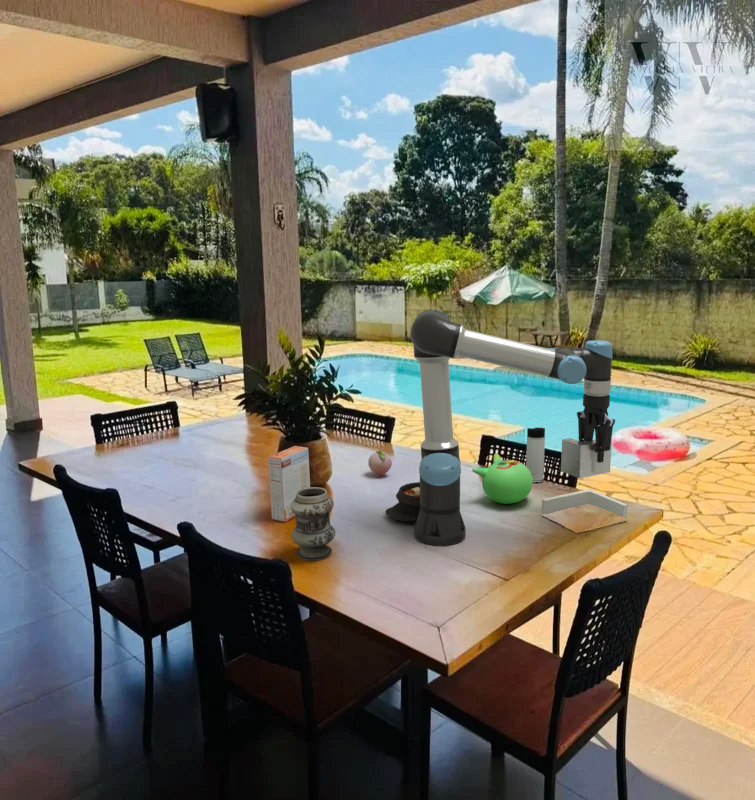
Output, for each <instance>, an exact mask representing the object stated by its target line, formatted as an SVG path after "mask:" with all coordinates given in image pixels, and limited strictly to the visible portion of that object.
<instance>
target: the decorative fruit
mask: <svg viewBox="0 0 755 800" xmlns="http://www.w3.org/2000/svg"><path fill="white" fill-rule="evenodd" d="M367 464H368V467H369V469H370V471H372V472H373V473H374V474H376V475H379V476H380V475H381V476H383V475H385V474H387V473H388V472H389V471H390V469H391V468H392V464H393V462H392V459H391V457H390V456H389V455H388V454H386V453H384V452H383V451H382V450H381V449H380V450H376V451H375V453H373V454H371V455H370V456H369V458H368V463H367Z"/></svg>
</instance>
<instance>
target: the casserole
mask: <svg viewBox="0 0 755 800" xmlns="http://www.w3.org/2000/svg"><path fill="white" fill-rule="evenodd" d="M395 498H396V500H398V502H397V503H396V504H395V505H393V506H391V507H388V508H387V509H386V510H385V511H384V512H385V515H386V516H387V517H389V518H391V519H393V520H395V521H400V522H416V520H417V517H418V514H419V511H420V481H417V482H409V483H406V484H404V485H403V484H402V485H401V486H399V488H398V492H397V493H396V494H395Z"/></svg>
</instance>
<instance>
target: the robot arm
mask: <svg viewBox="0 0 755 800" xmlns="http://www.w3.org/2000/svg"><path fill="white" fill-rule="evenodd" d="M409 332H410V334H409V335H410V340H411V343H412V347H413V357H414V359H415V360H416V361H418V362H419V363H418V364H419V372H420V382H421V383H420V386H421V398H422V401H421V402H422V413H423V426H424V440H423V441H422V442H421V444H420V456H421V460H420V463H419V467H418V473H419V482H420V511H419V514H418V517H417V520H416V521H415V524H414V527H413V536H414V539H416V540H417V541H419V542H420V543H422V544H423V543H424V544H426V545H431V546H440V545H443V546H451V545H450V544H452V545H455V544H454V543H456V544H459V543H461V542H462V540H463V539H464V538H465V539H466V537H467V536H466V534H467V531H466V530H467V529H466V525H465V522H464V518H463V515H462V513H461V474H462V467H461V465H462V463H461V459H460V447H459V441H458V440H457V439H455V438H454V429H453V414H452V413H453V412H452V400H451V399H452V397H451V396H452V395H451V382H450V379H451V378H450V366H449V364H450V363H449V360H450V359H456V358H458V357H462V358H467V359H471V360H474V361H480V362H482V363H488V364H491V365H497V366H500V367H505V368H510V369H514V370H518V371H522V372H528V373H531V374H535V375H539V376H543V377H547V378H551V379H555V380H559V381H562V382H563V383H566V384H569V385H575V384H579V383H580V382H582V380H583V392H584V393H583V395H582V407H584V408H583V410H581V411H577V412H576V416H577V419H578V420H577V421H578V423H577V424H578V426H577V428H578V441H580V442H584V441H589V440H594V436H595V439H596V450H594V463H593V473H598V472H602V462H603V461H604V452H605V451H609V450H610V446H611V440H612V438H613V437H612V436H613V429H614V425H615V423H616V419H614V418H611V417H610V416H609V413H608V409H609V408H610V404H611V403H610V402H611V396H610V393H611V384H612V366H613V365H612V364H613V344H612V343H611V342H610V341H608V340H597V339H595V340H594V339H593V340H588V341H585V345H584V347H579V348H578V347H574V348H571V347H563V348H562V347H552V348H547V347H542V346H538V345H534V344H529V343H525V342H521V341H517V340H511V339H508V338H503V337H500V336H495V335H490V334H488V333H487V334H486V333H483V332H479V331H474V330H470V329H466V328H465V326H464V325H463V324H460V323H457V322H453V321H451V319H450V317H448V315H447V314H446V313H444V312H443V311H440V310H438V309H427V310H424V311H422V312H420V313H419V314H417V316H416V317H415V318H414V320H413V322H412V324H411V327H410V331H409ZM594 434H595V435H594ZM600 447H601V448H600ZM611 447H612V446H611ZM465 536H466V537H465ZM465 539H464V540H465ZM464 540H463V541H464ZM460 541H461V542H460ZM458 542H459V543H458Z"/></svg>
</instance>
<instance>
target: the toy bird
mask: <svg viewBox="0 0 755 800" xmlns="http://www.w3.org/2000/svg"><path fill="white" fill-rule="evenodd" d="M471 471H472V473H475V474H476V475H478V476H479V477H481V486H482V489H483V491H484V492H483V493H484V494H485V495H486V497H488V498H489V499H490V500H492V501H493V502H495V503H499V504H504V505H505V504H506V505H511V504H515V503H519V502H521V501H522V500H524V499H526V498H527V497H528V495H529V494H530V493H531V491H532V489H533V484H534V483H533V478H532V474H531V472H530V470H529V469H528V468H527V467H526V465H525V464H523V463H522V462H521V461H517V460H512V459H510V460H509V459H503V458H502V457H501V456H500V455H499V453H494V454H493V463H492V464H491V465H489V466H488V467H472V469H471Z"/></svg>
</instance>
